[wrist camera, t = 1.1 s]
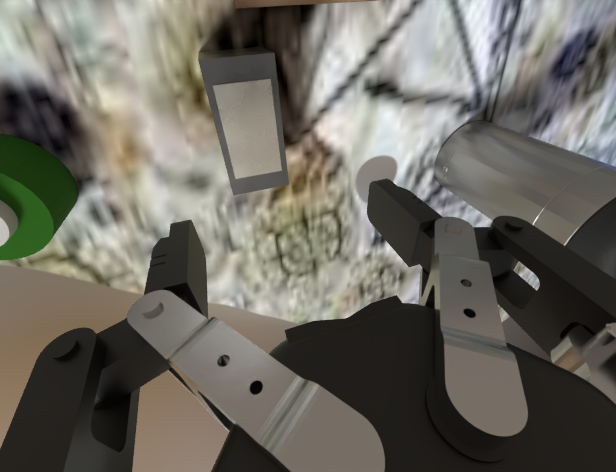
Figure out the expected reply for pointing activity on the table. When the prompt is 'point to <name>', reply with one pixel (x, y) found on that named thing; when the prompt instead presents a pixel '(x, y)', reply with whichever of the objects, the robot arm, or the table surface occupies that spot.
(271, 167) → the block
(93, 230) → the table surface
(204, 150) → the table surface
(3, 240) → the candle
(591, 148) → the table surface
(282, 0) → the tray
